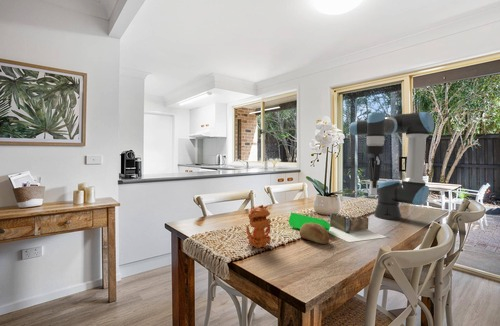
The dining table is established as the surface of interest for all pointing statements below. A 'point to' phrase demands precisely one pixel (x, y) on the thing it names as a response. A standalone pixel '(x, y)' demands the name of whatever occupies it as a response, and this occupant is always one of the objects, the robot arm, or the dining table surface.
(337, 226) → the fence fixed
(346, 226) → the hinge post
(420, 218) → the dining table surface
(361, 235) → the card
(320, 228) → the bread roll
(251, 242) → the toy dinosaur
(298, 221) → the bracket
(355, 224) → the fence panel
